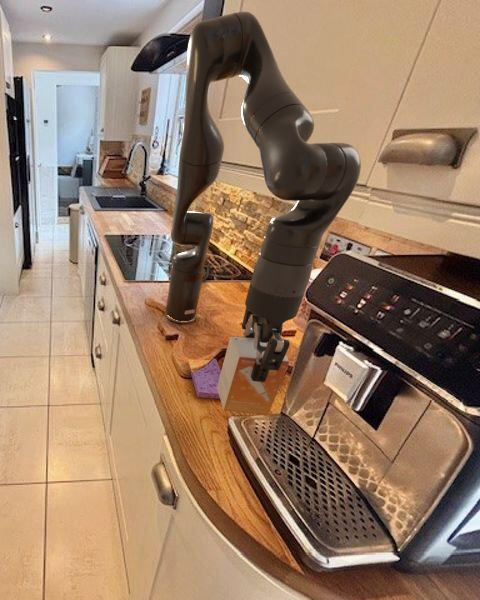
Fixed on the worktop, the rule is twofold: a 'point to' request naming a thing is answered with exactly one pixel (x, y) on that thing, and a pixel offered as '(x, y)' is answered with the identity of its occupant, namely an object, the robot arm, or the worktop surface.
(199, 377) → the sponge
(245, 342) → the small box
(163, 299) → the worktop surface
